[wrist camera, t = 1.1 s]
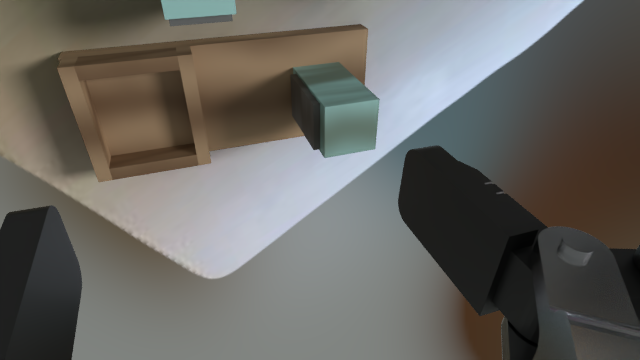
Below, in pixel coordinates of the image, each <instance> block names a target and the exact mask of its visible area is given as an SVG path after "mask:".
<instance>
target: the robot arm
mask: <svg viewBox="0 0 640 360" xmlns="http://www.w3.org/2000/svg"><path fill="white" fill-rule="evenodd" d="M398 206H399V211H400V214H401V217H402V219H403V221H404V222H405V224H406V225H407V226H408V227H409V229H410V230H411V231H412V232H413V234H414V235H415V236H416V237H417V238H418V240H419V241H420V242H421V243H422V245H423V246H424V247H425V248H426V250H427V251H428V252H429V253H430V254H431V256H432V257H433V258H434V260H435V261H436V262H437V263H438V265H439V266H440V267H441V268H442V270H443V271H444V272H445V273H446V274H447V276H448V277H449V278H450V279H451V281H452V282H453V283H454V284H455V286H456V287H457V288H458V289H459V291H460V292H461V293H462V294H463V296H464V297H465V298H466V300H467V301H468V302H469V303H470V304H471V306H472V307H473V308H474V309H475V311H476V312H477V313H478V314H479V316H482V315H485V314H488V313H492V312H495V311H498V310H500V311H501V312H502V313H503V315H504V316H505V317H504V319H503V321H502V324H501V335H502V357H503V360H640V245H639V247H638V248H637V249H609V248H608V247H607V246H606V245H605V244H603V243H602V242H601V241H600V240H598V239H596V238H595V237H593V236H591V235H589V234H587V233H585V232H582V231H579V230H576V229H573V228H568V227H550V228H548V227H547V226H545V225H544V224H543V223H542V222H540V221H539V220H538V219H537V218H536V217H534V216H533V215H532V214H531V213H530V212H528V211H527V210H526V209H524V208H523V207H522V206H521V205H520V204H519V203H517V202H516V201H515V200H514V199H513V198H511V197H510V196H509V195H508V194H504V193H503V190H501V189H500V188H499V187H498V186H497V185H495V184H492V182H491V180H489V179H488V178H487V177H486V176H484V175H483V174H482V173H481V172H480V171H478V170H477V169H475V168H472V167H470V166H468V165H466V164H464V163H462V162H460V161H457V160H456V159H455V158H454V157H453V156H451V155H450V154H449V153H448V152H447V151H445V150H444V149H443V148H442V147H440V146H430V147H424V148H418V149H412V150H409V151H408V152H407V154H406V157H405V162H404V168H403V174H402V180H401V186H400V192H399V199H398ZM81 290H82V278H81V271H80V266H79V262H78V259H77V257H76V254H75V252H74V249H73V247H72V244H71V242H70V239H69V237H68V234H67V232H66V229H65V227H64V224H63V222H62V219H61V216H60V214H59V212H58V210H57V209H56V207H54V206H46V207H39V208H33V209H27V210H21V211H14V212H9V213H8V214H7V215H6V217H5V219H4V222H3V224H2V227H1V229H0V360H71V358H72V352H73V345H74V339H75V332H76V325H77V318H78V311H79V304H80V298H81Z"/></svg>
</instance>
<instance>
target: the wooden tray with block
mask: <svg viewBox="0 0 640 360" xmlns="http://www.w3.org/2000/svg"><path fill="white" fill-rule="evenodd" d="M367 37H368V29H367V28H366V27H364V26H363V25H361V24H358V25H348V26H337V27H326V28H315V29H304V30H294V31H283V32H272V33H261V34H250V35H240V36H229V37H218V38H207V39H197V40H186V41H175V42H164V43H153V44H143V45H132V46H121V47H110V48H99V49H89V50H78V51H67V52H61V54H60V55H59V57H58V61H59V65H58V67H57V70H58V73H59V75H60V78H61V81H62V83H63V86H64V89H65V92H66V94H67V97H68V100H69V102H70V105H71V108H72V111H73V113H74V116H75V119H76V122H77V124H78V127H79V130H80V132H81V135H82V138H83V141H84V143H85V146H86V149H87V151H88V154H89V157H90V160H91V162H92V165H93V168H94V170H95V173H96V176H97V179H98V181H99V182H103V181H109V180H115V179H121V178H127V177H133V176H138V175H144V174H150V173H156V172H162V171H168V170H174V169H180V168H186V167H192V166H198V165H204V164H209V163H211V159H210V153H209V151H213V150H220V149H226V148H232V147H238V146H244V145H251V144H257V143H263V142H269V141H275V140H282V139H288V138H294V137H300V136H305V137H306V139H307V140H308V142H309V143H310V145H311V146H312V148H313V150H317V149H319V150H320V152H321V153H322V155H323V156H324V158H328V157H333V156H339V155H345V154H350V153H356V152H361V151H367V150H373V149H375V145H376V133H377V122H378V110H379V98H377V97H376V96H375V95H374V94H373V93H372V92H371V91H370V90H369V89H368V88H367V87H365V86H364V84H365V69H366V53H367Z"/></svg>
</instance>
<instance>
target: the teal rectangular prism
mask: <svg viewBox="0 0 640 360" xmlns="http://www.w3.org/2000/svg"><path fill="white" fill-rule="evenodd" d="M161 2H162V7H163V12H164V17H165V20H167V19H169V23H170V26H179V25H191V24H203V23H215V22H227V21H233V20H232V14H236V6H235V0H161Z"/></svg>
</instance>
